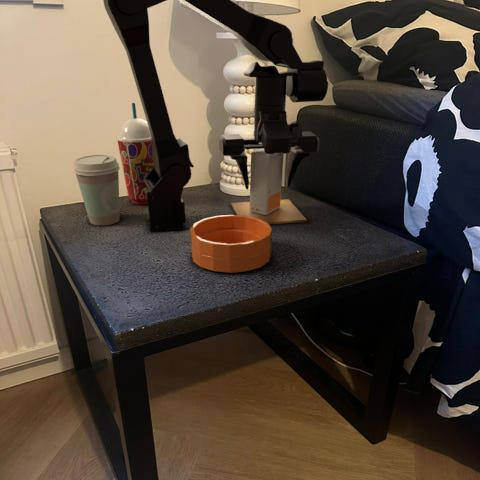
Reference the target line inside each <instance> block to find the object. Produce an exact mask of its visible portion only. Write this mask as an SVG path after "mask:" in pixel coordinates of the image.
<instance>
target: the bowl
mask: <svg viewBox="0 0 480 480" xmlns="http://www.w3.org/2000/svg"><path fill="white" fill-rule="evenodd" d="M189 235H190V250H191V251H190V252H191V258H192V262H193V263H195V264H196V265H197V266H198V267H200V268H202V269H205V270H208V271H212V272H218V273H228V274H229V273H230V274H233V273H241V272H249V271H252V270H256V269H259V268H261V267H263V266H265V265H266V264H267V263H269V262H270V259H271V257H272V242H273V241H272V239H273V228H272V227H271V224H268V223H267V222H265V221H263V220H261V219H258V218H254V217H249V216H242V215H236V214H226V215H223V214H222V215H215V216H210V217H205V218H203V219H201V220H199V221H197V222H194V223H193V225H192V226H191V227H190V228H189Z"/></svg>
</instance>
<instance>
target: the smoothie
mask: <svg viewBox="0 0 480 480" xmlns="http://www.w3.org/2000/svg"><path fill="white" fill-rule="evenodd" d="M131 108H132V109H131V110H132V117H131V118H128V119H126V120H125V121H124V122H123V123H122V124H121V125H120V128H119V129H118V134H117V136H116V141H117V147H118V151H119V156H120V161H121V165H122V166H121V167H122V171H123V177H124V181H125V186H126V193H127V196H128V198H129V199H130V201H131V203H132V204H135V205H139V206H146V205H147V206H148V201H147V192H150V190H149V189H148V188H147V186H146V184H145V182H144V178H145V177H146V176H147V174H148V173H149V172H150V171H151V170H152V168H153V167H154V164H153V156H152V139H151V133H150V130H149V126H148V123H147V120H146V119H144V118H141V117H137V107H136V102H132V103H131Z"/></svg>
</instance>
